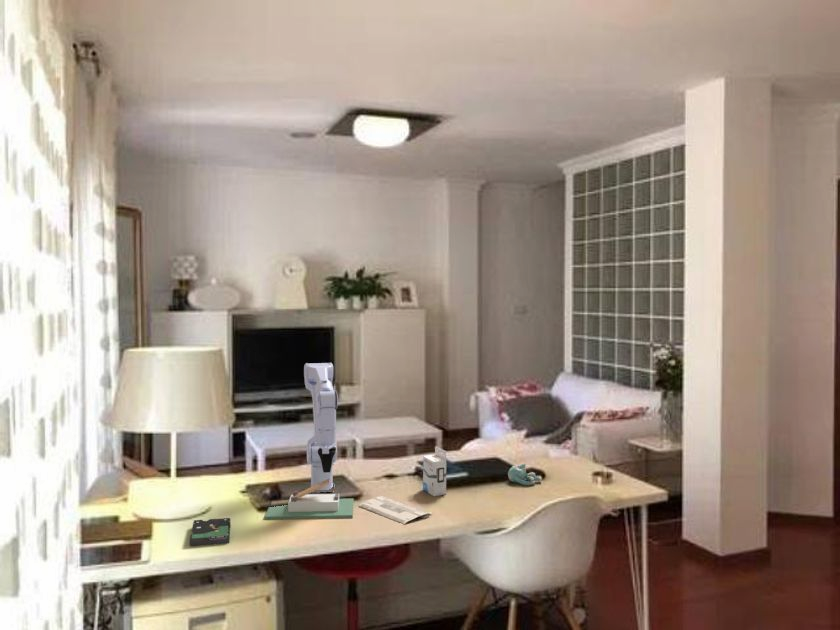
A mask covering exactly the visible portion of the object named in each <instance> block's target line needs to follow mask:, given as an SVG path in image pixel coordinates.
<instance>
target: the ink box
mask: <svg viewBox="0 0 840 630" xmlns="http://www.w3.org/2000/svg"><path fill="white" fill-rule="evenodd" d="M434 450H435V452H434V454H430V455H423V458H422V459H423V461H422V463H423V467H422V468H423V470H422V474H423V475H422V478H423V479H422V490H423V491H425V492H427V493H428V494H429V495H430V496H432V497H437V496H444V495H447V450H444V449H443V448H440V447H439V446H436V445H435V446H434Z"/></svg>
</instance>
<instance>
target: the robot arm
mask: <svg viewBox="0 0 840 630" xmlns="http://www.w3.org/2000/svg"><path fill="white" fill-rule="evenodd" d="M303 377H304V385H305V389H306V390H308V391H310V394H311V398H312V415H313V433H314V435H313V436H312V437H310V439H308V440H307V443H306V462H307V463H308V464H309V465H310V471H311V472H310V475H311V476H310V487H312V486H314V485H316V484H318V483H320V482H323V481H325V480H327V479H329V478H330V484H328V485H326V486H324V487H321V488H319V489H317V490H329V489H331V488H332V487H333V484H334V483H333V475H334V474H333V468H334V467H333V466H335V465H334V463H337V460H338V446H337V445H338V443H337V409H338V404H339V397H338V392H337V390H334V387H333V380H334V365H333V363H332V362H321V363H320V362H319V363H318V362H317V363H315V362H314V363H308V362H306V363H305V364H304V366H303Z"/></svg>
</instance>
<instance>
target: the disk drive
mask: <svg viewBox="0 0 840 630" xmlns="http://www.w3.org/2000/svg"><path fill="white" fill-rule="evenodd" d="M231 520H232V519H231V517H225V518H224V517H223V518H209V519H207V520H203V519H195V520H193V523H192V527H191V528H192V529H191V532H190V535H189V547H191V548H192V547H200V546H201V547H202V546H215V544H216V545H226V544H227V543H228V544H230V539H231V538H230V535H231ZM228 544H227V545H228Z"/></svg>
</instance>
